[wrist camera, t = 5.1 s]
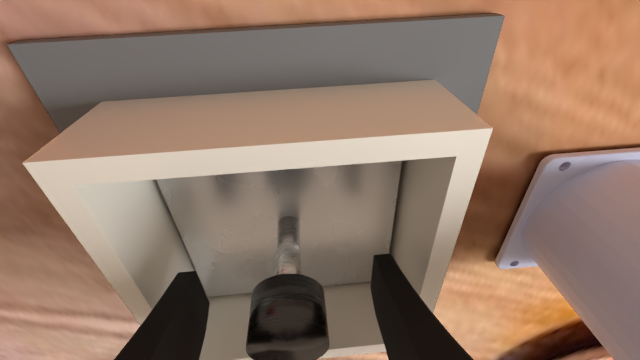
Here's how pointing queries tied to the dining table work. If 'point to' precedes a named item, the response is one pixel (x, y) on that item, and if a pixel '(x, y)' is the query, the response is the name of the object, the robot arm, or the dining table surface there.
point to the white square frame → (254, 156)
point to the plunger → (285, 243)
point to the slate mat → (259, 60)
